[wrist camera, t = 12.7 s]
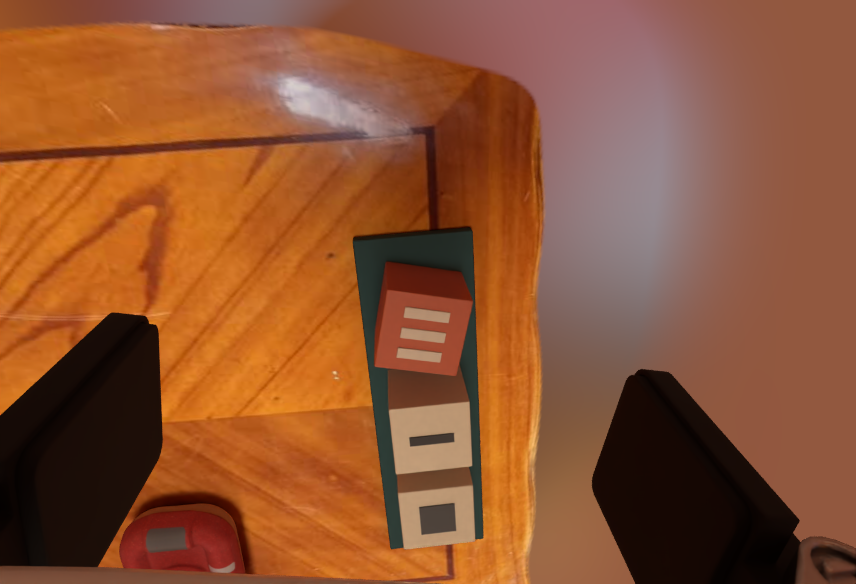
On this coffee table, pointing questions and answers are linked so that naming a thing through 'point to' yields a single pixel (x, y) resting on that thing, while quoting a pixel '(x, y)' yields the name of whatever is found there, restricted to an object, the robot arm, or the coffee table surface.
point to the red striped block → (421, 319)
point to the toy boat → (183, 540)
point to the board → (370, 258)
